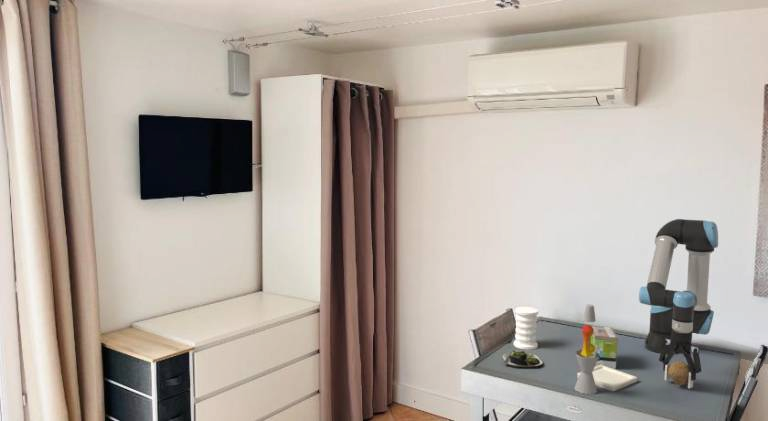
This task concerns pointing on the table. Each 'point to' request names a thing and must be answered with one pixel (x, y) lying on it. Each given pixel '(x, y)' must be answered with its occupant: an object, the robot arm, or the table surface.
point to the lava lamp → (587, 356)
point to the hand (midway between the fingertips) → (678, 383)
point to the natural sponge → (679, 372)
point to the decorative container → (526, 328)
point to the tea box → (605, 346)
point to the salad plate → (522, 360)
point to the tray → (611, 378)
